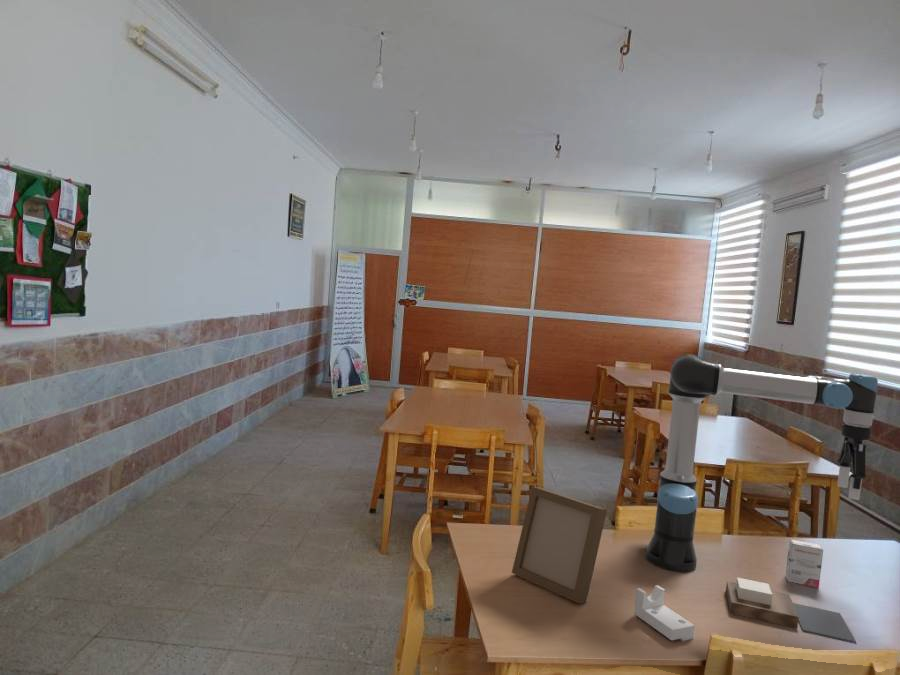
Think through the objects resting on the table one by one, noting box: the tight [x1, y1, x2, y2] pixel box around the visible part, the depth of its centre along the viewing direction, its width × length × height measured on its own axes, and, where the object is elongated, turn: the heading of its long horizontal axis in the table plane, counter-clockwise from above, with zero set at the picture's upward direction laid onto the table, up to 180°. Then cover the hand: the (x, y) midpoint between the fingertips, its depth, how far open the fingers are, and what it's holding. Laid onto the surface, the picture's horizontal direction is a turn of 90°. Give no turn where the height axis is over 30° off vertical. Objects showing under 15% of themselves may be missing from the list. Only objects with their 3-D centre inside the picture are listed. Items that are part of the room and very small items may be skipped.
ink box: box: [784, 539, 824, 589], centre depth 193 cm, size 9×5×12 cm, turn 71°
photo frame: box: [511, 486, 608, 604], centre depth 177 cm, size 15×22×25 cm
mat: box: [793, 602, 857, 644], centre depth 168 cm, size 12×16×1 cm
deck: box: [725, 580, 799, 629], centre depth 173 cm, size 16×14×3 cm
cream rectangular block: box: [735, 577, 772, 605], centre depth 173 cm, size 8×7×3 cm
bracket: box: [633, 584, 695, 642], centre depth 158 cm, size 13×7×8 cm, turn 25°
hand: (847, 492), depth 195 cm, fingers open, 13 cm apart
